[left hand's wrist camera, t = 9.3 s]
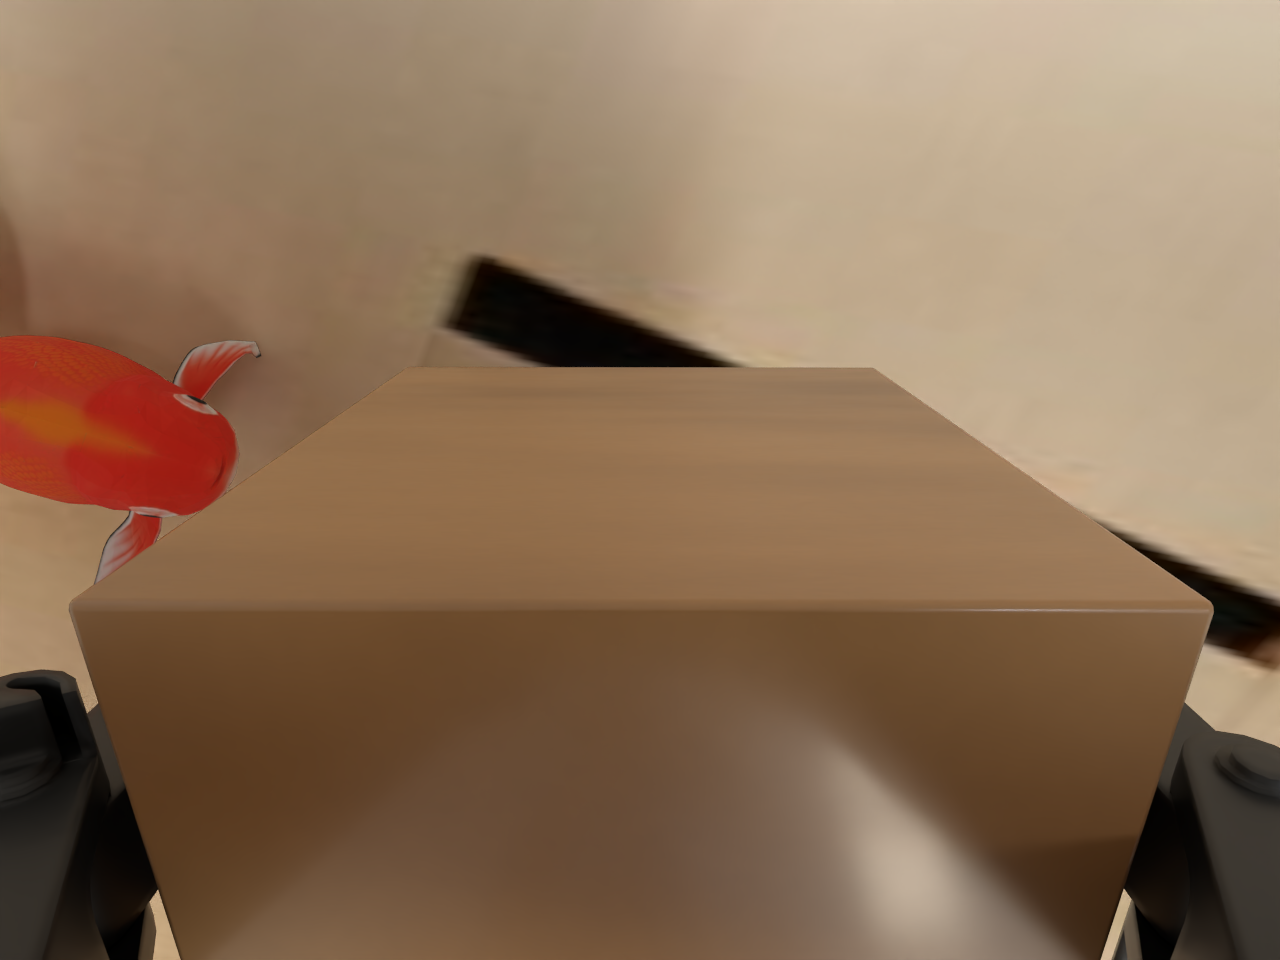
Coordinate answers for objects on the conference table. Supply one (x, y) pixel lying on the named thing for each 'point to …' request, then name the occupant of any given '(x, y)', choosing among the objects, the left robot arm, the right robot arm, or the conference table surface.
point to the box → (640, 682)
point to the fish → (115, 433)
